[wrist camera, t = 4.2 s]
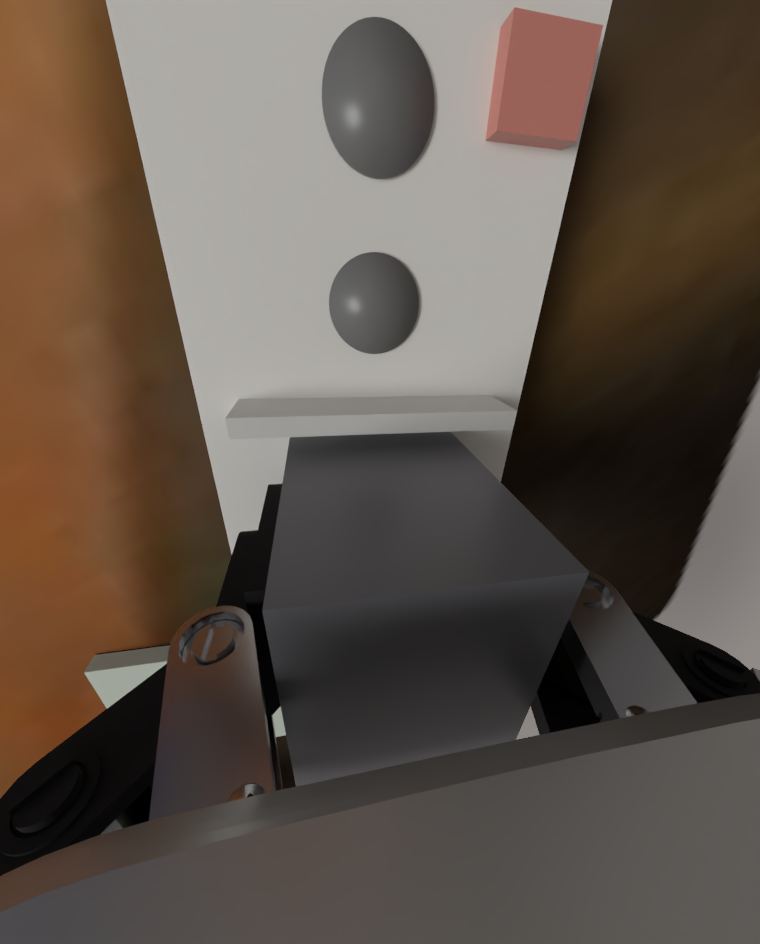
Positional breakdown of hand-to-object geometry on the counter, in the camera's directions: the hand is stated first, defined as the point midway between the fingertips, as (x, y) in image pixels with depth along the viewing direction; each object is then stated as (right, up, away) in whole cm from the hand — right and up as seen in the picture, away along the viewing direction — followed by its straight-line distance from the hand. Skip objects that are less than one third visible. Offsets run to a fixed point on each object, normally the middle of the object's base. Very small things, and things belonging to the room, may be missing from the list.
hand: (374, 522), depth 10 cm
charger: (0, 0, +1) cm, 1 cm away
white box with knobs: (0, +5, +1) cm, 5 cm away
